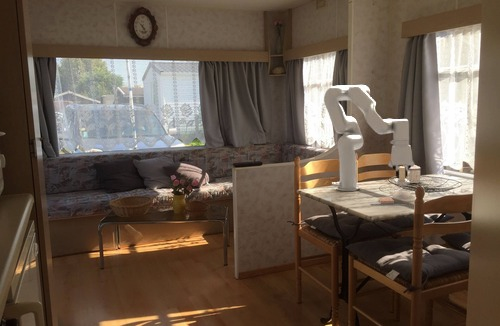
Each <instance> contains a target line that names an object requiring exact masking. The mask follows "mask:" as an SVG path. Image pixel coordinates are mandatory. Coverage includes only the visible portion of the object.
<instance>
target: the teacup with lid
mask: <svg viewBox="0 0 500 326" xmlns="http://www.w3.org/2000/svg"><path fill="white" fill-rule="evenodd" d="M406 179H407V180H408V181H409V182H410V183H417V184H420V183H421V167H420V166H418V165H416V164H415V165H414V166H412V167H410V168H409V169H408V176H406ZM419 182H420V183H419ZM410 183H409V184H410Z"/></svg>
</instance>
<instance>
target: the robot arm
mask: <svg viewBox="0 0 500 326" xmlns="http://www.w3.org/2000/svg"><path fill="white" fill-rule="evenodd" d="M370 95H371V91H370V88H369V87H368V86H367V85H365V84H356V85H333V86H330V87H329V88H328V89H326V91H325V93H324V97H323V102H324V105H325V108H326V110H327V113H328V116H329V118H330V121H331V123H332V124H331V125H332V126H333V129H334V131H335V132H336V133H337V134H344V135H342V136H340V137H339V139H338V140H337V150H338V156H339V157H338V159H339V181H337V182H331V186H332V187H337V190H338V191H341V192H355V191H359V190H360V188H361V187H360V186H358V183H357V182H358V177H357V175H358V174H357V170H358V168H357V155H356V152H355V151H356V150H359V149H361V148H362V147H363V145H364V138H363V137H364V136H363V134H362V132H361V131H362V130H361V129H360V125H359V123H358V121H357V120H356V118H354V117H353V116H351V115H350V116H348V115H346V113H345V109H344V108H343V106H342V105H341V104H340V101H341V102H342V101H351V102H353V104H354V105H355V106H356V107H357V108H358V109H359V110H360V111H361V112H362V113H363V116H364V119H365V122H366V123H367V124H368V125H369V127H370V128H371V129H372V130H373V131H374V132H375V133H377V134H378V135H386V134H391V133H393V135H392V136H393V140H391V141H390V144H392V146H391V153H390V154H391V155H390V161H389V163H388V167H390V168H392V169H394V171H395V177H396V179H399V170H398V167H400V166H403V167H405V178H406V176H408V169H409V168H410V167H412V166H414V165H416V164H415V162H414V160H413V153H412V147H411V145H410V134H409V133H410V131H409V130H410V123H409V120H408V119H407V118H400V119H393V118H386V119H385V118H384V119H383V118H382V117H381V115H379V114H378V112H377V111H376V105H377V102H376V101H375V100H374V99H373V98H372V97H371V96H370Z"/></svg>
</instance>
